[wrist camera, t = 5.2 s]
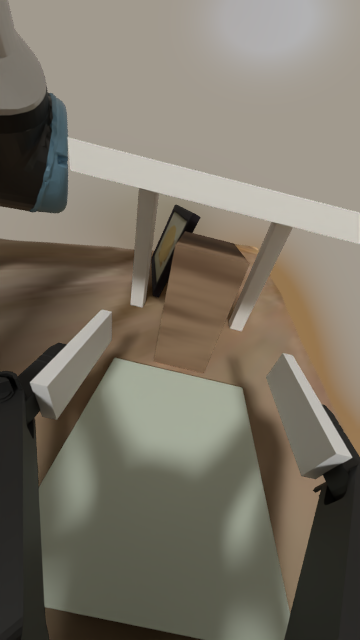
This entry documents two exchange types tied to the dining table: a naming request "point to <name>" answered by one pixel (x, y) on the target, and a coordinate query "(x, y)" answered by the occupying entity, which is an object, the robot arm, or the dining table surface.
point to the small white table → (213, 193)
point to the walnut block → (198, 300)
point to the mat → (162, 511)
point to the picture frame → (170, 246)
